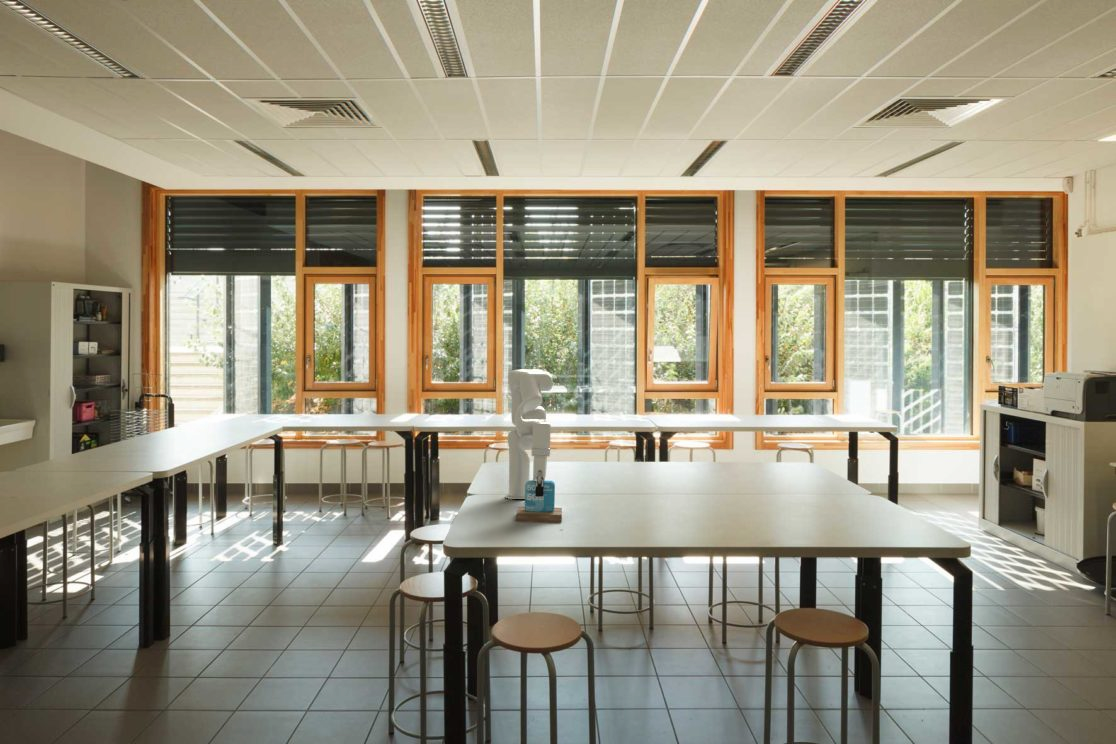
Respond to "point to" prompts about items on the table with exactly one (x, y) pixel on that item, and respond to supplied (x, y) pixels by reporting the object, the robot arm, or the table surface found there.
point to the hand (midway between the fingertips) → (539, 493)
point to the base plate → (539, 515)
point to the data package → (536, 502)
